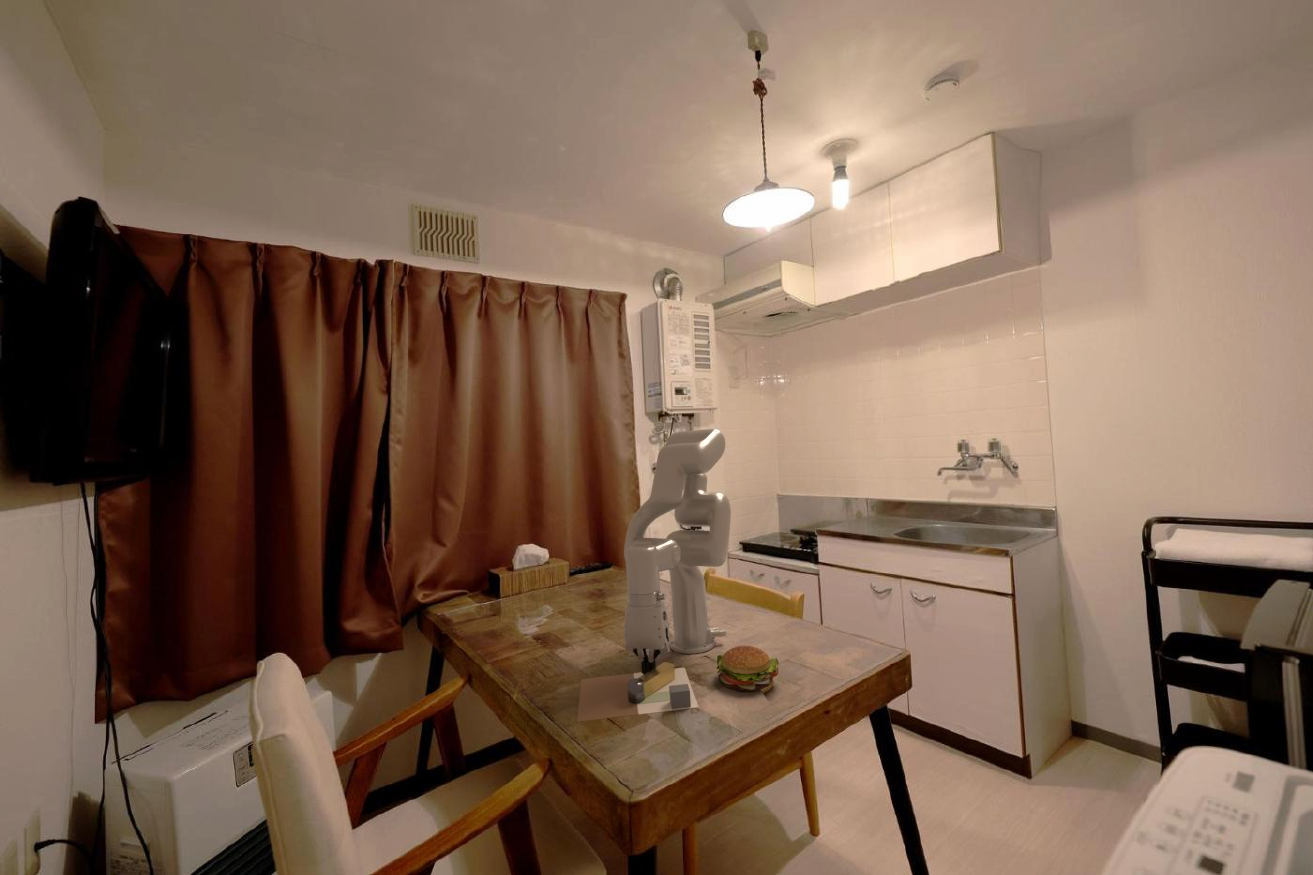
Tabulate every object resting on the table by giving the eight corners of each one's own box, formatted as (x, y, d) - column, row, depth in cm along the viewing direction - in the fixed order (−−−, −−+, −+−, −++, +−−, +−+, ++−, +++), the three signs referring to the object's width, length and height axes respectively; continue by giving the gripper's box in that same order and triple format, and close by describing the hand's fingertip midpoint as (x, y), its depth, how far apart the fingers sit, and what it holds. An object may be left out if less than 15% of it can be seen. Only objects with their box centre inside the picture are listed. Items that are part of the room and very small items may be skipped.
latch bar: (637, 704, 108) (636, 687, 108) (624, 700, 110) (623, 683, 110) (676, 678, 119) (675, 663, 119) (664, 675, 121) (663, 659, 121)
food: (793, 686, 114) (790, 650, 114) (742, 705, 108) (740, 667, 108) (754, 664, 126) (751, 632, 126) (706, 680, 120) (704, 646, 120)
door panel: (684, 672, 125) (683, 653, 125) (698, 712, 106) (697, 690, 106) (581, 684, 122) (580, 664, 122) (577, 727, 103) (575, 704, 103)
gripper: (679, 594, 121) (684, 672, 120) (621, 592, 126) (626, 667, 125) (669, 604, 114) (674, 687, 113) (608, 601, 119) (613, 681, 118)
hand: (649, 676), depth 119 cm, fingers closed
